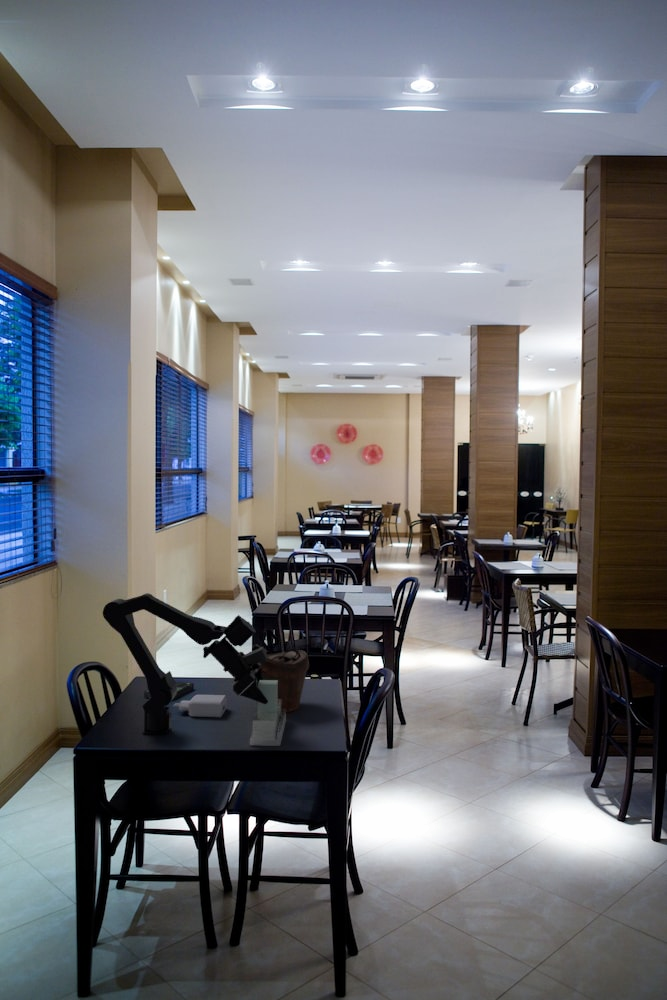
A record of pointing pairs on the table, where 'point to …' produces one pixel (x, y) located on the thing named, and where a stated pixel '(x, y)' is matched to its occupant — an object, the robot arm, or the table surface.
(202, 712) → the charger
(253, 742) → the rail
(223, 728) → the table surface
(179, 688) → the disk drive
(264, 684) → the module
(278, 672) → the brown flower pot
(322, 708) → the table surface
